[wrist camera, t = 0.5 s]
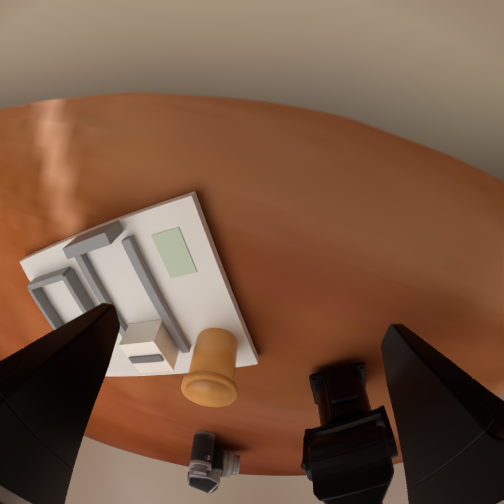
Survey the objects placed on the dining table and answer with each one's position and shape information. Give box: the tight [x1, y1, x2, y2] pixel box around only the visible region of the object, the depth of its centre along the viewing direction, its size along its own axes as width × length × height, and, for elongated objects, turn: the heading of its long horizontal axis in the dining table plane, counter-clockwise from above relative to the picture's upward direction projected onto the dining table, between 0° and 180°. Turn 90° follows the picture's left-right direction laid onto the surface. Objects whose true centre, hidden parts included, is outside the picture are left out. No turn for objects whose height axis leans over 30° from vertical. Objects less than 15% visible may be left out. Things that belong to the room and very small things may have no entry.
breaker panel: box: [20, 191, 258, 376], centre depth 24 cm, size 18×22×4 cm
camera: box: [187, 431, 240, 494], centre depth 37 cm, size 16×8×10 cm, turn 168°
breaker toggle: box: [119, 319, 180, 373], centre depth 25 cm, size 4×4×3 cm
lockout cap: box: [181, 328, 238, 407], centre depth 23 cm, size 5×5×6 cm
